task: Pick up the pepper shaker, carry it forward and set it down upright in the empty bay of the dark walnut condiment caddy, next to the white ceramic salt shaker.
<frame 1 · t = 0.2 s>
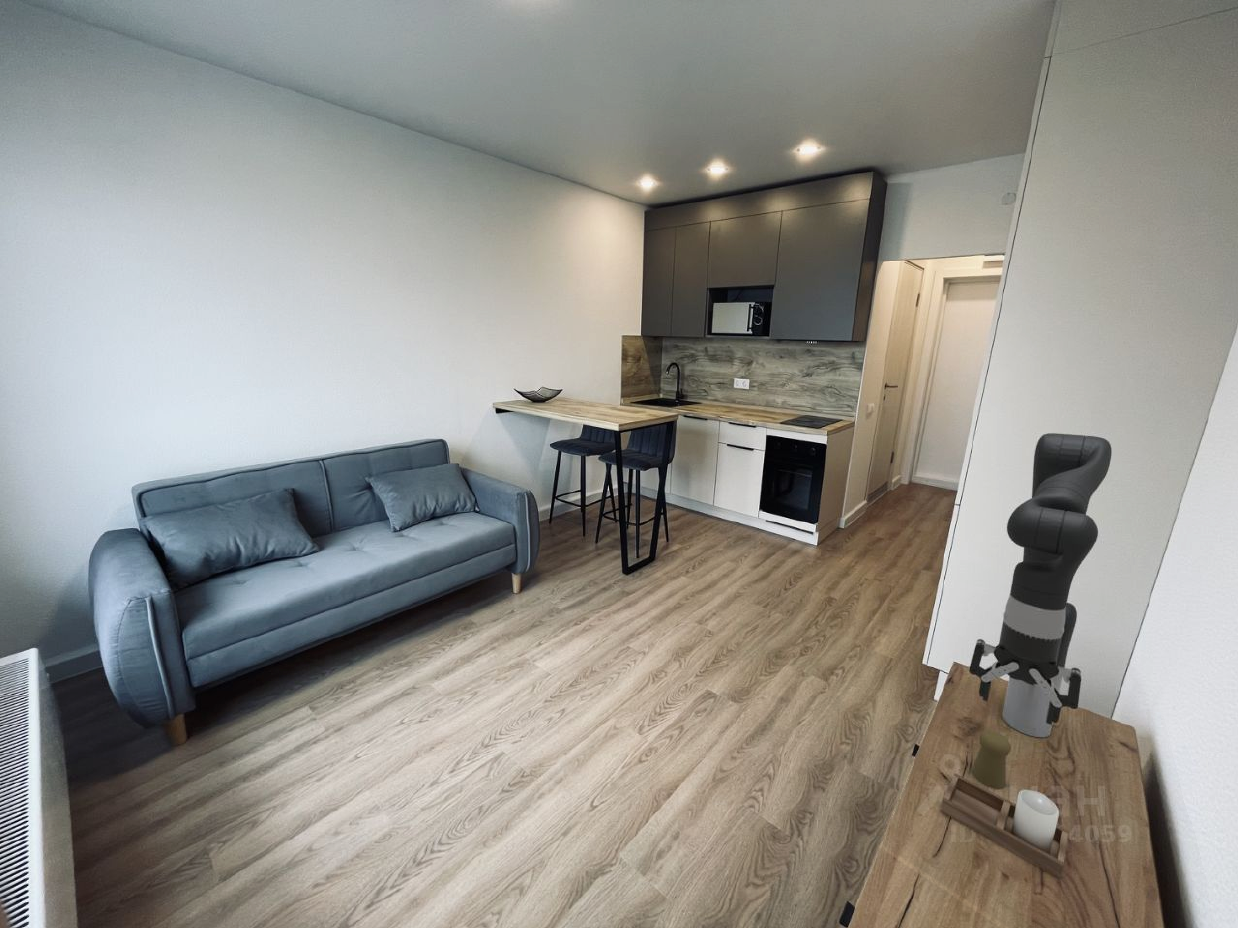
hand: (1015, 709, 84), 28 cm above the table, fingers open, 8 cm apart
pepper shaker: (987, 781, 104), on the table
caddy: (1000, 829, 93), on the table
salt shaker: (1030, 842, 89), point 1 cm above the table, touching caddy
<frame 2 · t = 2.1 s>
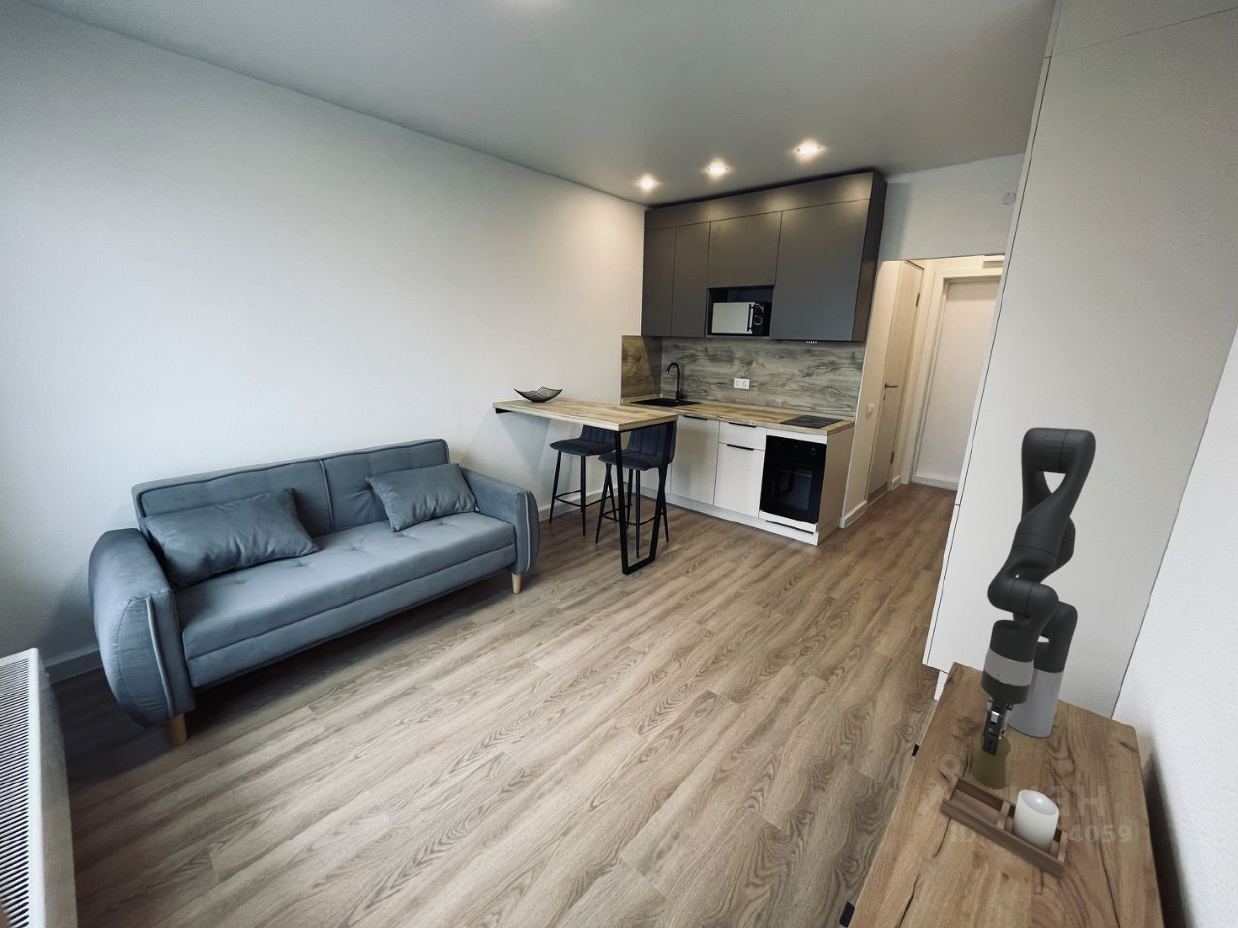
hand: (993, 741, 101), 10 cm above the table, fingers open, 8 cm apart
nothing on the table moved.
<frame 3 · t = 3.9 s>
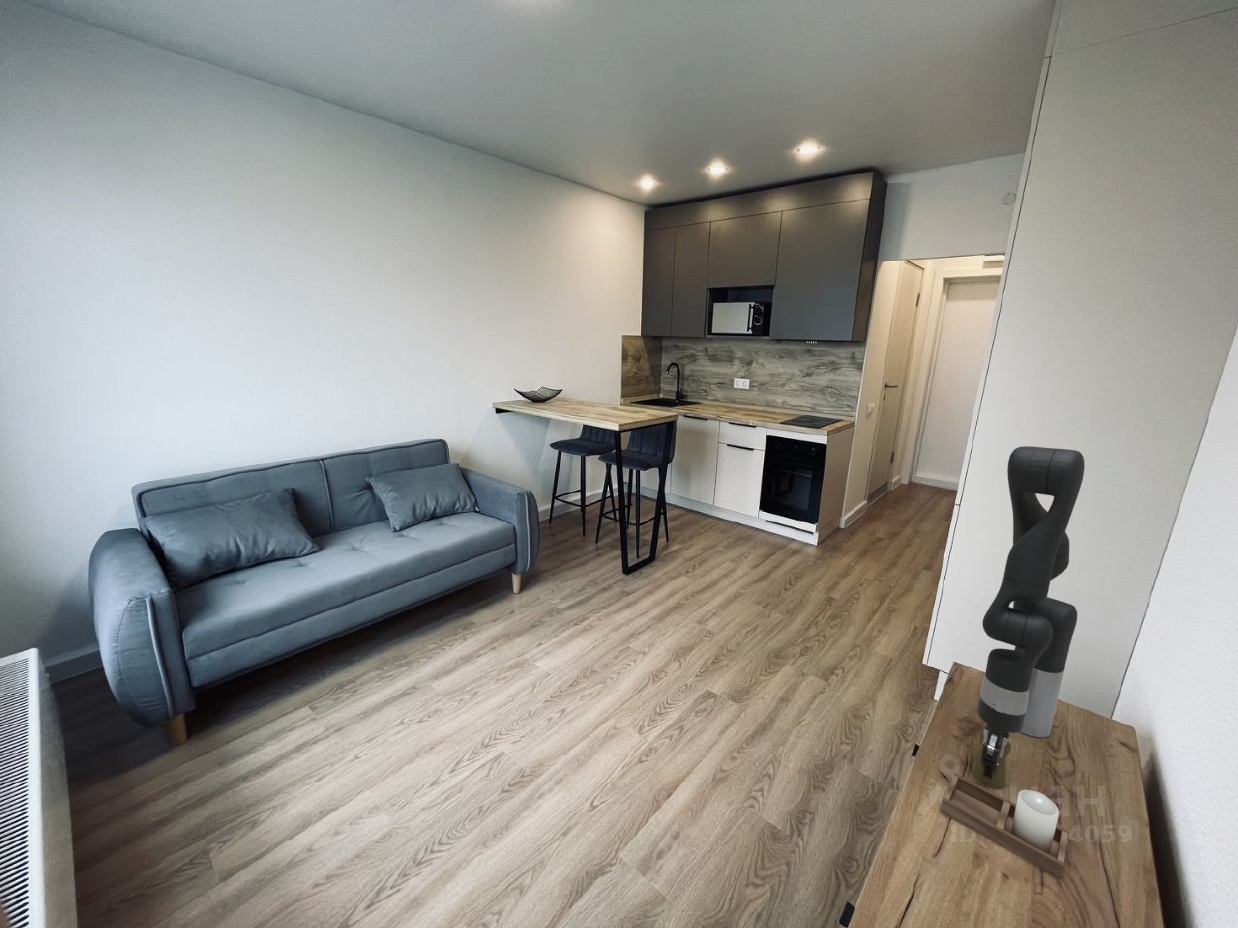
hand: (989, 771, 103), 2 cm above the table, fingers closed on pepper shaker, 3 cm apart
pepper shaker: (987, 781, 103), on the table, touching gripper
everything else where it was.
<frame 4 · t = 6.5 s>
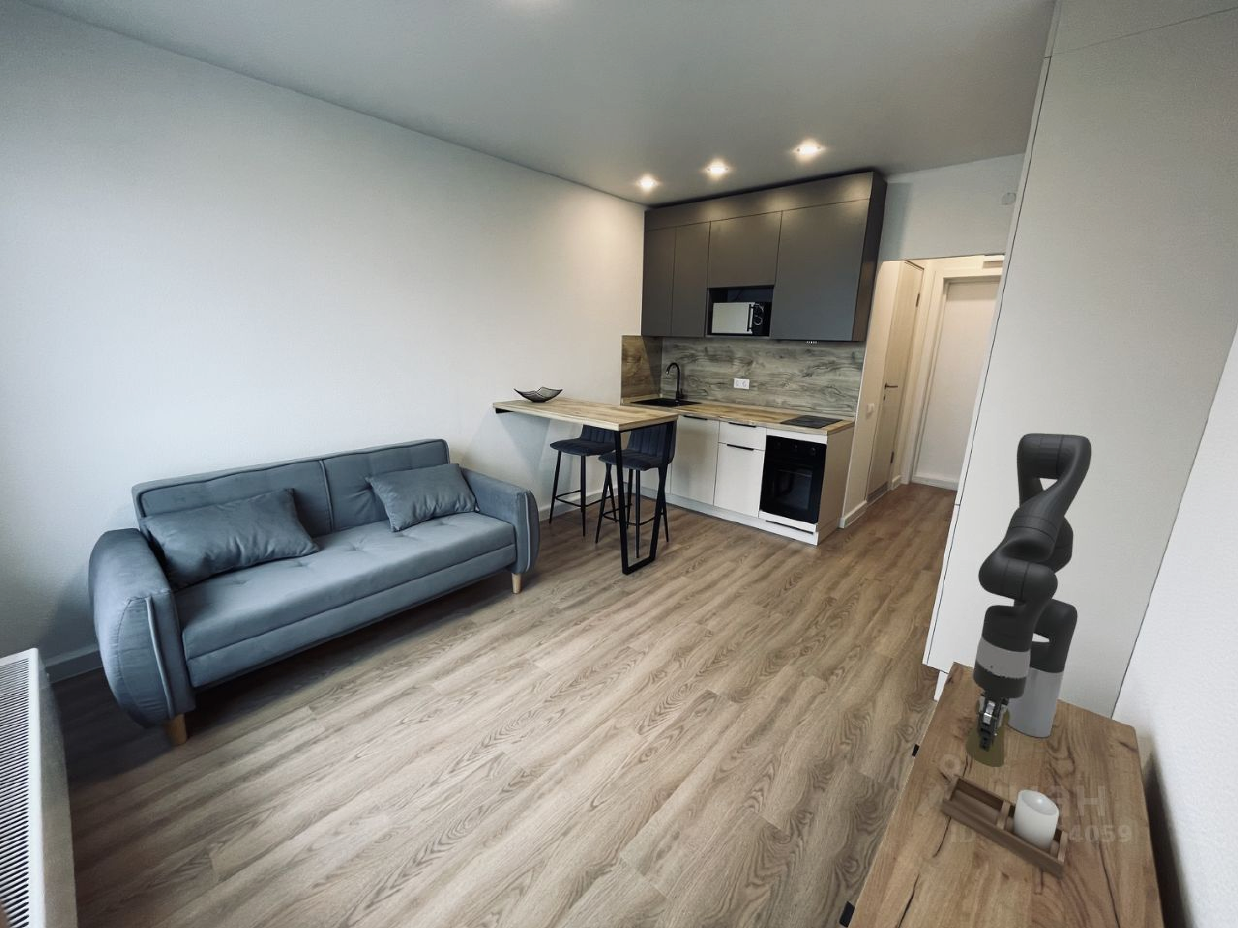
hand: (986, 743, 92), 16 cm above the table, fingers closed on pepper shaker, 3 cm apart
pepper shaker: (984, 755, 93), point 14 cm above the table, touching gripper
everything else where it was.
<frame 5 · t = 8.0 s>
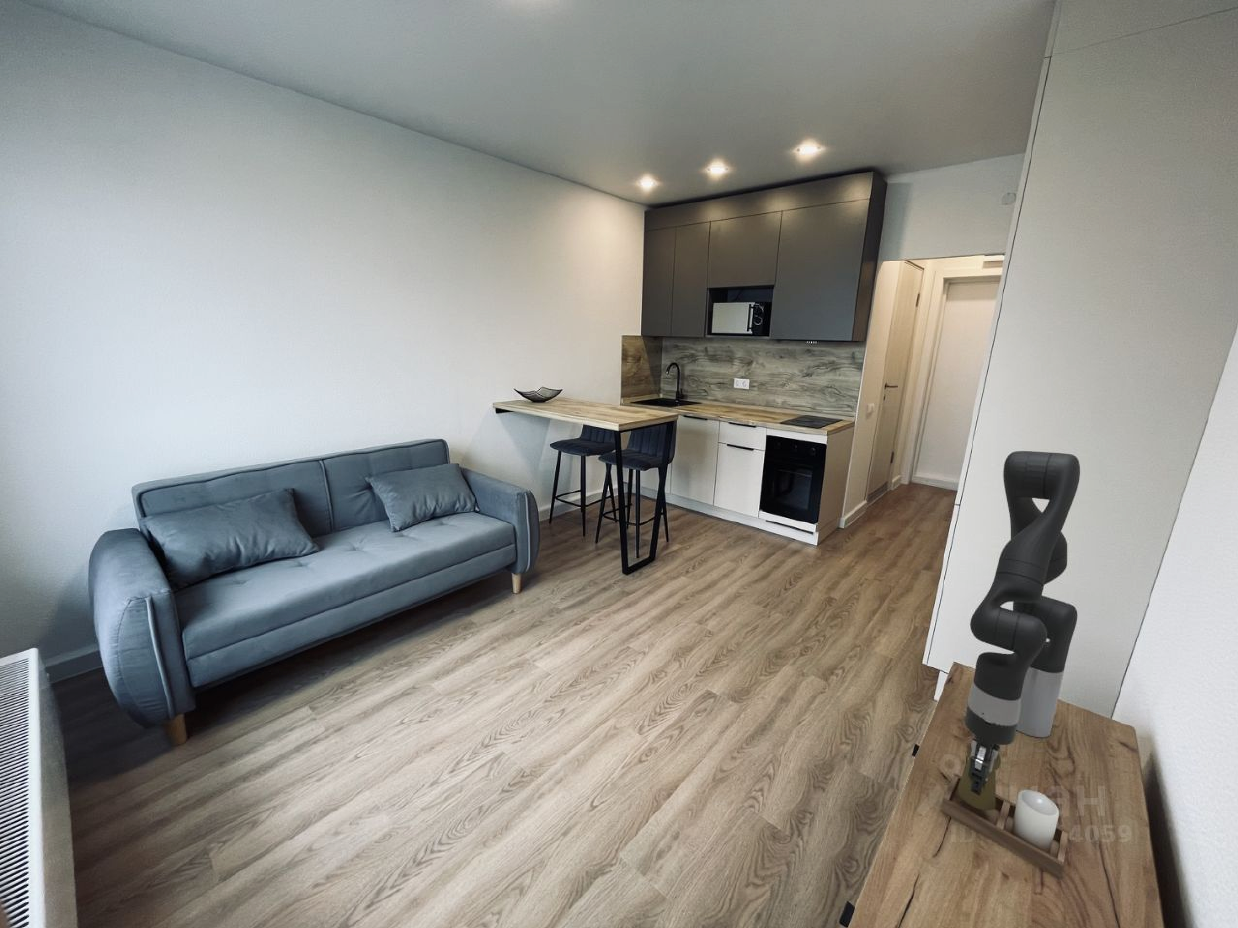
hand: (978, 786, 94), 7 cm above the table, fingers closed on pepper shaker, 3 cm apart
pepper shaker: (976, 797, 95), point 4 cm above the table, touching gripper
everything else where it was.
when the fingers open (5 cm above the table, at t = 9.1 s): pepper shaker drops 2 cm, resting on caddy.
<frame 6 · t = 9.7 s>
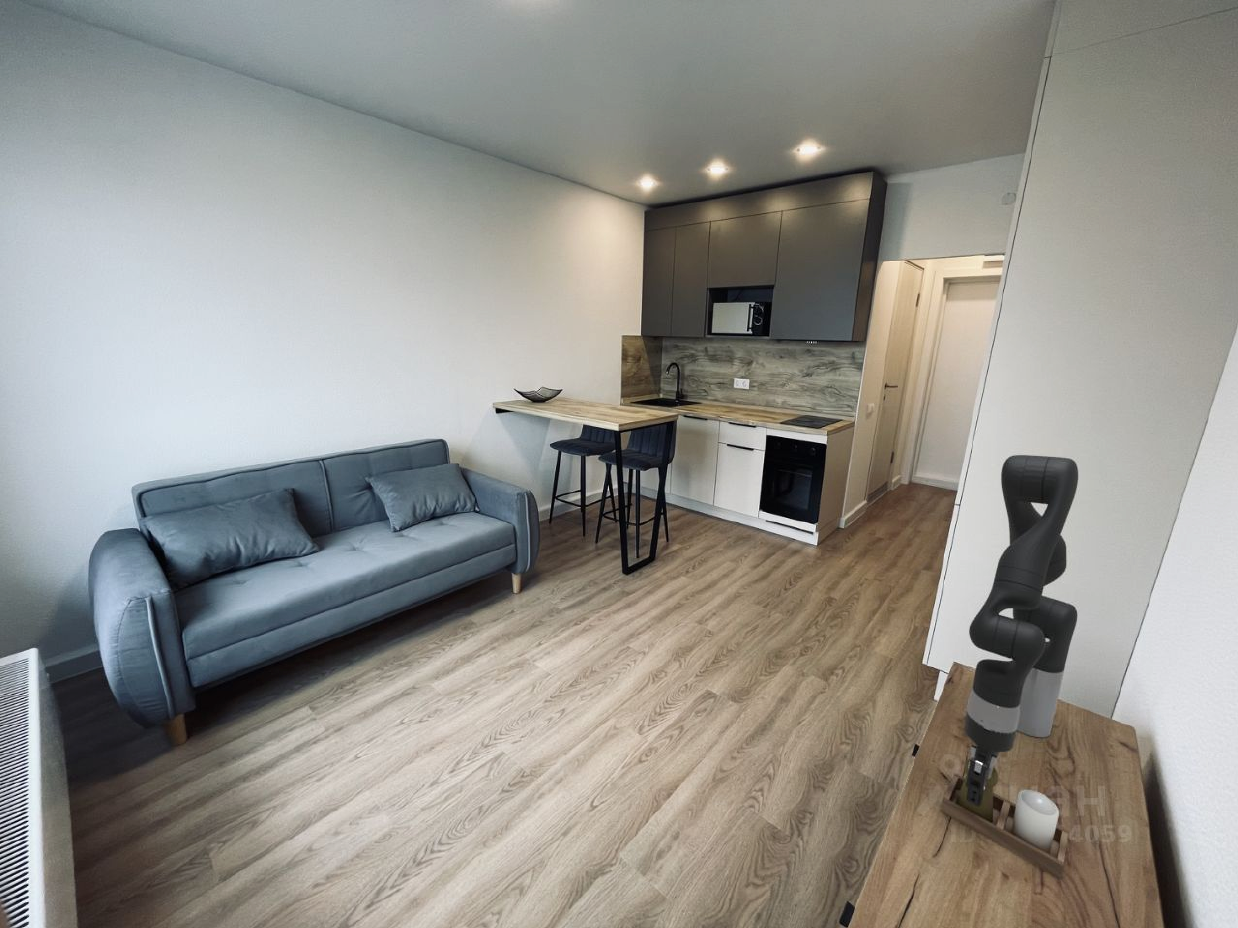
hand: (978, 789, 94), 6 cm above the table, fingers open, 8 cm apart
pepper shaker: (973, 812, 95), point 1 cm above the table, touching caddy
everything else where it was.
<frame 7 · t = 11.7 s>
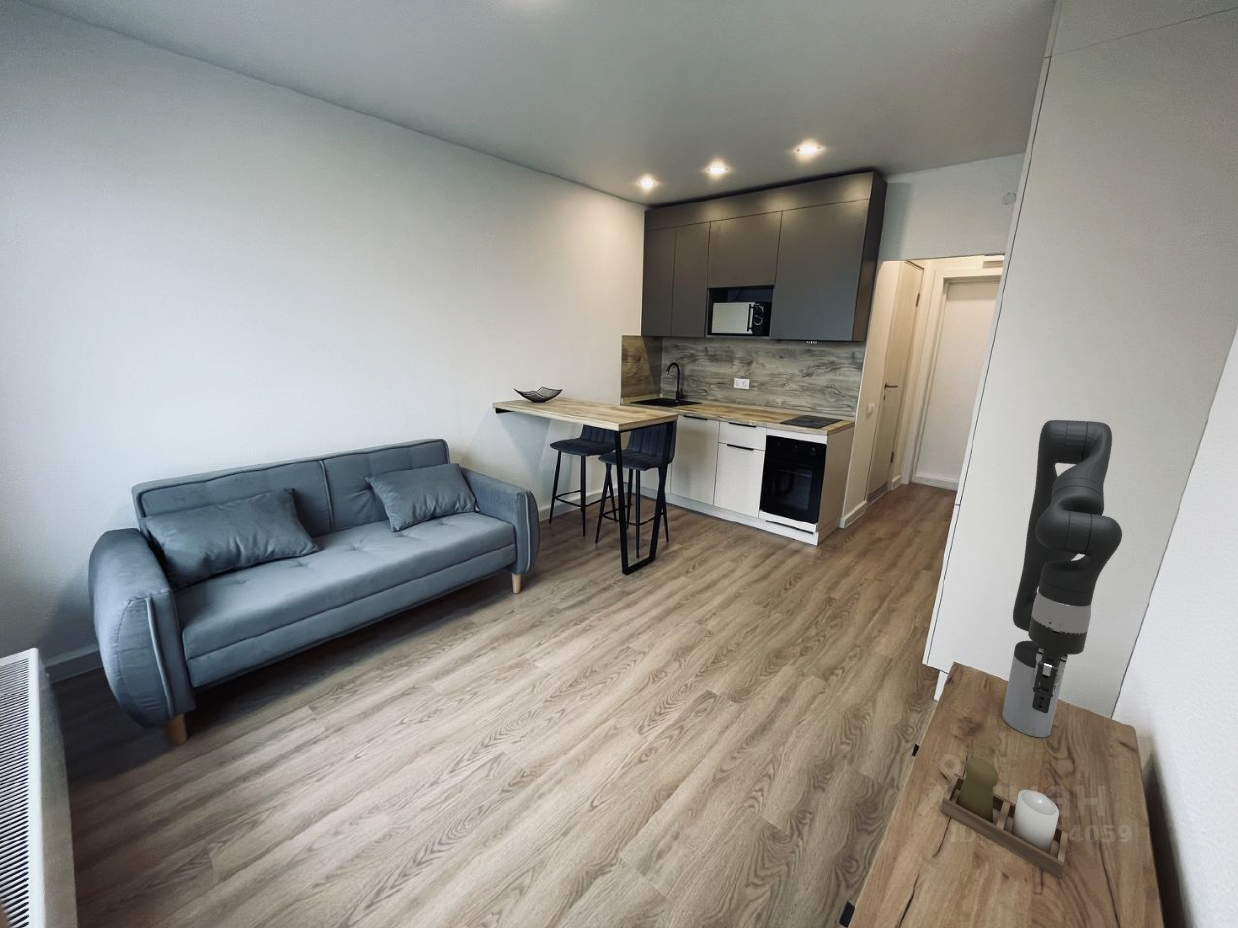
hand: (1043, 698, 90), 26 cm above the table, fingers open, 8 cm apart
nothing on the table moved.
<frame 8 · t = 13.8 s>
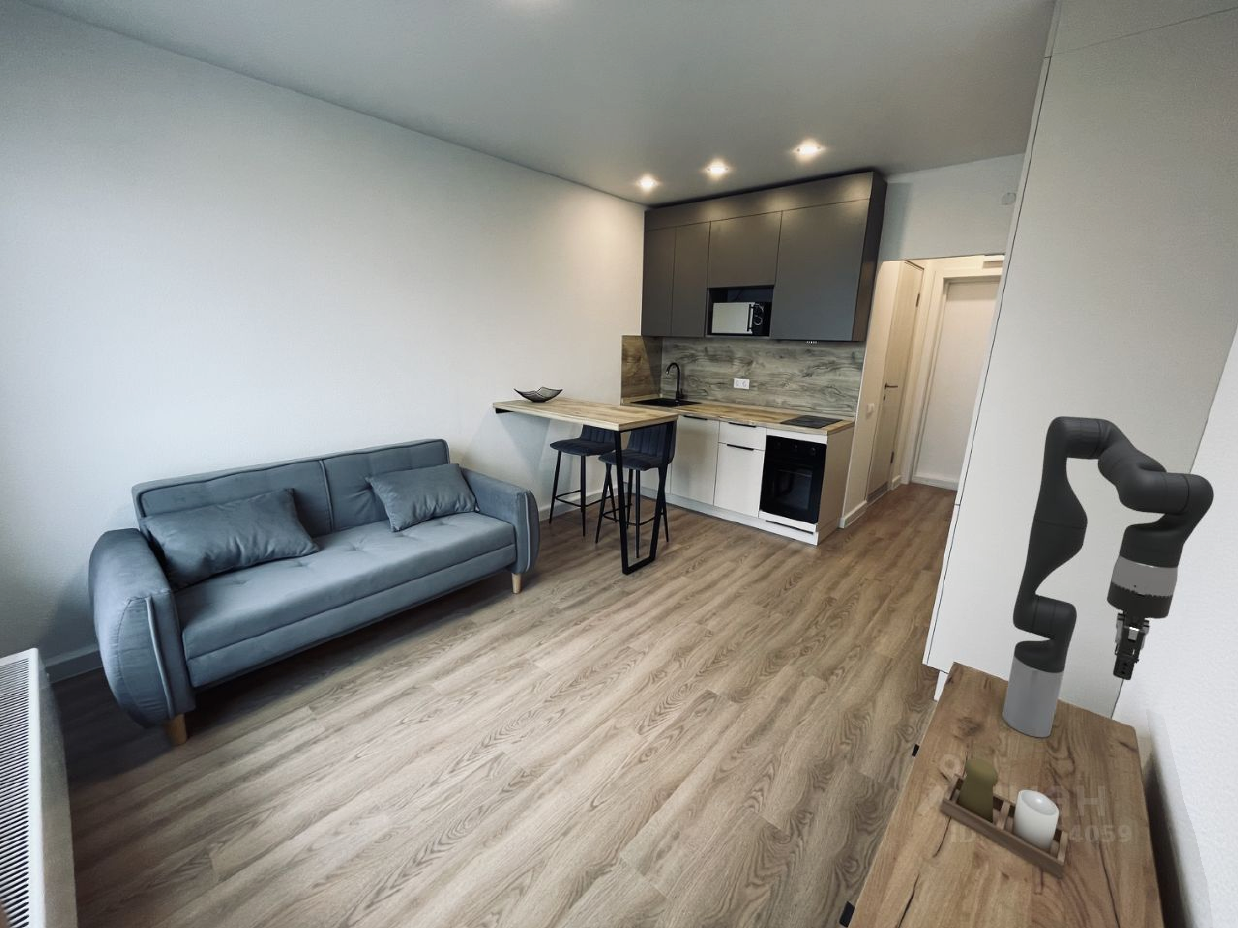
hand: (1121, 667, 88), 33 cm above the table, fingers open, 8 cm apart
nothing on the table moved.
at the end: pepper shaker 0.1 cm from the target spot on the caddy, point 0.6 cm above the caddy's base; pepper shaker tilted 0°; the gripper is holding nothing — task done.
